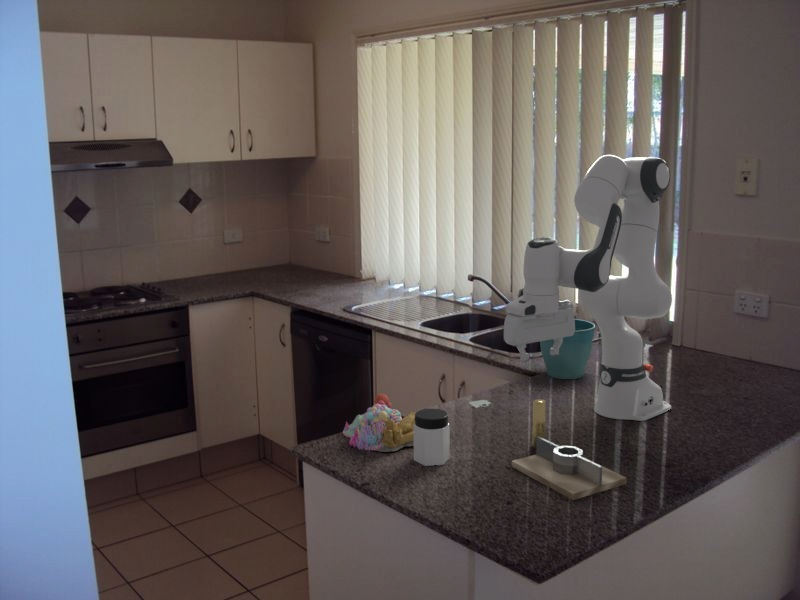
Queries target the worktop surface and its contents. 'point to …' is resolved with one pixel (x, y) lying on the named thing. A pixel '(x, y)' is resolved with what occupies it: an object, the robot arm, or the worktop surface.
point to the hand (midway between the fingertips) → (539, 357)
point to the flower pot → (570, 352)
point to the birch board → (566, 478)
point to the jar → (431, 437)
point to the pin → (538, 420)
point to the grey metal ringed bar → (569, 461)
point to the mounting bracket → (479, 403)
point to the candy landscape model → (381, 428)
